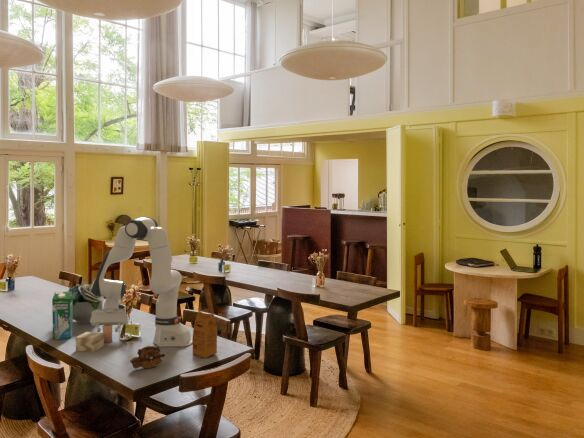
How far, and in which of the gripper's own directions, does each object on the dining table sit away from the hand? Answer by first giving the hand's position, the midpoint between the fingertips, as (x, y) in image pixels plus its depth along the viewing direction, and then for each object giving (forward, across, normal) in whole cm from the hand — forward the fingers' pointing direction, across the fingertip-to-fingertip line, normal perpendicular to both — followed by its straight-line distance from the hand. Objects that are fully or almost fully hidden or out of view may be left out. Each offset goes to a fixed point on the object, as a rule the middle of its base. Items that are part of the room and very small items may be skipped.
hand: (107, 331), depth 275 cm
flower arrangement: (-24, -23, +33) cm, 47 cm away
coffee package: (+21, +54, -13) cm, 59 cm away
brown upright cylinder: (+4, 0, +4) cm, 6 cm away
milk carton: (-4, -27, +12) cm, 30 cm away
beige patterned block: (+11, -7, -3) cm, 13 cm away
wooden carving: (+33, +29, -25) cm, 50 cm away
